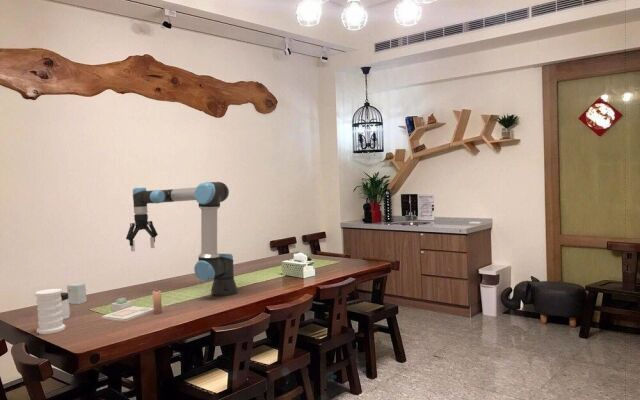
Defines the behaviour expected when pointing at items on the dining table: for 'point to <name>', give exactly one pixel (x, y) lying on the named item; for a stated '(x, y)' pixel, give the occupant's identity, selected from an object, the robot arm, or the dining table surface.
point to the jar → (65, 305)
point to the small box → (76, 293)
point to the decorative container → (49, 311)
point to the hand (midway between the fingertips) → (143, 249)
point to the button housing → (120, 306)
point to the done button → (121, 300)
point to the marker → (157, 301)
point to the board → (128, 313)
